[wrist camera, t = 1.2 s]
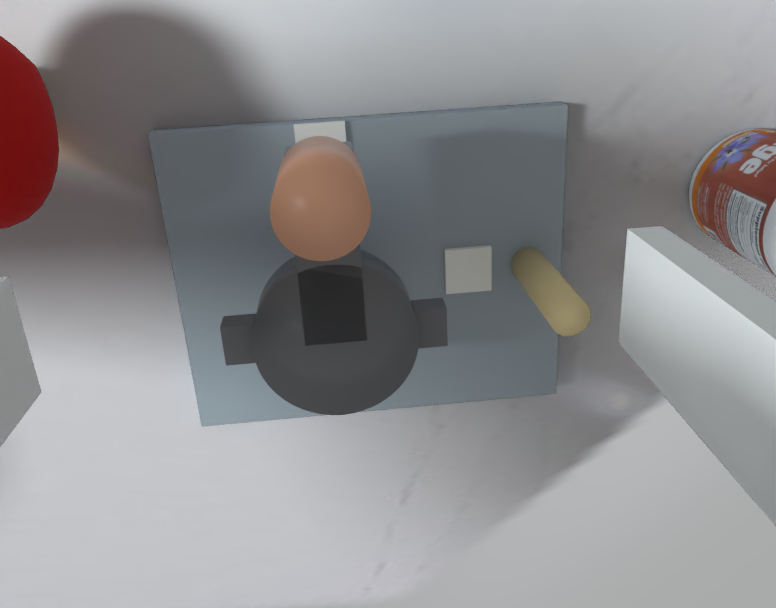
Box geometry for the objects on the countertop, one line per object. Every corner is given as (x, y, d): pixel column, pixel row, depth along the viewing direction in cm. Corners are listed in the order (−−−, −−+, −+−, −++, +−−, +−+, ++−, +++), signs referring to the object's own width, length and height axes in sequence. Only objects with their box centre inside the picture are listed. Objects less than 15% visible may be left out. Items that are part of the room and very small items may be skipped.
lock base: (204, 415, 41) (178, 508, 33) (153, 130, 34) (105, 164, 27) (549, 383, 42) (600, 466, 34) (560, 101, 35) (624, 127, 28)
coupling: (442, 378, 34) (473, 472, 27) (238, 397, 33) (217, 498, 26) (435, 117, 29) (469, 152, 22) (197, 134, 28) (158, 174, 22)
